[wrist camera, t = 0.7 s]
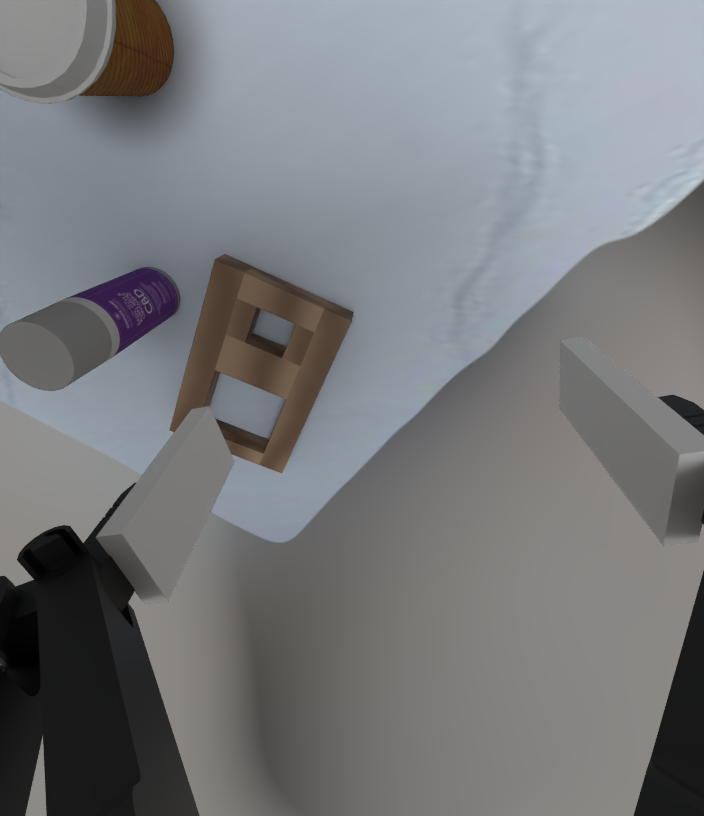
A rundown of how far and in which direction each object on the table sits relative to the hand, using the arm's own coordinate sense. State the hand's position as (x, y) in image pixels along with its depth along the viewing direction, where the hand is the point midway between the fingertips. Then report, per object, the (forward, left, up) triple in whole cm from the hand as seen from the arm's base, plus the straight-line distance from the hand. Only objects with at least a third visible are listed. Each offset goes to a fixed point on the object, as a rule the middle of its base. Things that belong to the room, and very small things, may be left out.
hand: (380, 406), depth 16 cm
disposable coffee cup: (-23, +7, -23) cm, 33 cm away
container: (-18, -10, -23) cm, 31 cm away
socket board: (-7, -13, -23) cm, 27 cm away
